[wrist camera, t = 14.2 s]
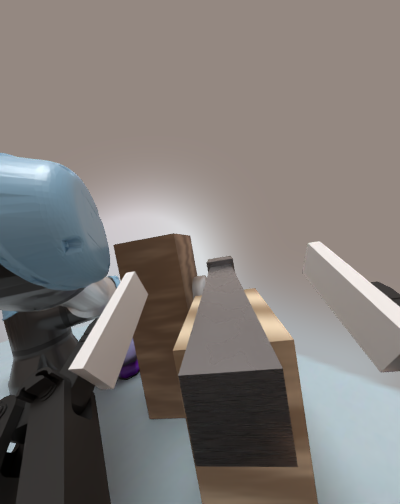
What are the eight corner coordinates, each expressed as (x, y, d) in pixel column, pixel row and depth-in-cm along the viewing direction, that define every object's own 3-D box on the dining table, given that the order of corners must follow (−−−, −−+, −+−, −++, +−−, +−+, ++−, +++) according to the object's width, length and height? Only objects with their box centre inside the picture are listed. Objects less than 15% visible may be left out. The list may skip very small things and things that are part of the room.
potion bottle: (155, 364, 39) (146, 318, 39) (120, 393, 33) (108, 338, 32) (138, 353, 45) (130, 312, 44) (105, 376, 39) (95, 329, 38)
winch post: (173, 357, 41) (150, 243, 39) (224, 353, 39) (203, 233, 37) (149, 419, 27) (113, 244, 25) (227, 416, 25) (194, 229, 23)
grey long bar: (312, 466, 5) (293, 340, 5) (183, 466, 6) (161, 352, 6) (234, 277, 31) (230, 255, 31) (212, 281, 32) (208, 259, 31)
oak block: (216, 416, 25) (194, 296, 24) (275, 414, 24) (254, 288, 23) (215, 572, 14) (172, 350, 12) (329, 582, 12) (293, 339, 11)
